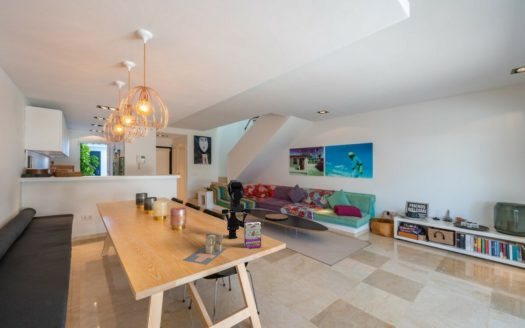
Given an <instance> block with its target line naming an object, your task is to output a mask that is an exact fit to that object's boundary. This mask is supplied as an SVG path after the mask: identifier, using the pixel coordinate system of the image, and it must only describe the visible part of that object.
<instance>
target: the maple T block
mask: <svg viewBox="0 0 525 328" xmlns="http://www.w3.org/2000/svg"><path fill="white" fill-rule="evenodd" d="M205 246H206V254H212V253H213V252H215V251H219V252H220V251H221V250H223V248H224V234H223V233H217V232H207V233H206V235H205Z"/></svg>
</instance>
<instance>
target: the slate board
mask: <svg viewBox="0 0 525 328" xmlns="http://www.w3.org/2000/svg"><path fill="white" fill-rule="evenodd" d="M226 250H227V248H226V247H223V250H221V251H220V252H219V251H215V252H213V253H212V254H206V245H204V246H203V247H201V248H199V249H198V250H196V251H194V252H193V253H192V254H190V255H188V256H186V257H185V258H183V259H182V261H184V262H188V263H194V264H201V265H205V266H207V265H208V264H210V263H211V262H212V261H214V260H215V259H216V258H217V257H219V256H220V255H221V254H222V253H223V252H225V251H226Z"/></svg>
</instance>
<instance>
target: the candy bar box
mask: <svg viewBox="0 0 525 328" xmlns="http://www.w3.org/2000/svg"><path fill="white" fill-rule="evenodd" d="M243 247H244V249H260V248H262V223H261V221H250V222H249V221H248V222H244V224H243Z"/></svg>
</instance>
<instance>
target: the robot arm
mask: <svg viewBox="0 0 525 328" xmlns="http://www.w3.org/2000/svg"><path fill="white" fill-rule="evenodd" d="M226 186H227V189H226V192H227V195H228V197H229V209H228V208H221V215H223V216H225V217H226V221H227V222H226V230H227V231H228V235H227V238H228V239H229V240H232V239H238V236H237V231H238V230H240V222H239V219H238V218H237V216H236V213H243V214H242V225H244V223H245V221H246V217H247V215H249V214H251V212H252V209H251V208H245V205H244V203H243V204H241V200H242V199H243V193H242V192H243V191H244V186H243V183H242V182H241V181H238V180H236V179H231V180H229V183H227V185H226ZM229 215H230V216H229Z"/></svg>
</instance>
